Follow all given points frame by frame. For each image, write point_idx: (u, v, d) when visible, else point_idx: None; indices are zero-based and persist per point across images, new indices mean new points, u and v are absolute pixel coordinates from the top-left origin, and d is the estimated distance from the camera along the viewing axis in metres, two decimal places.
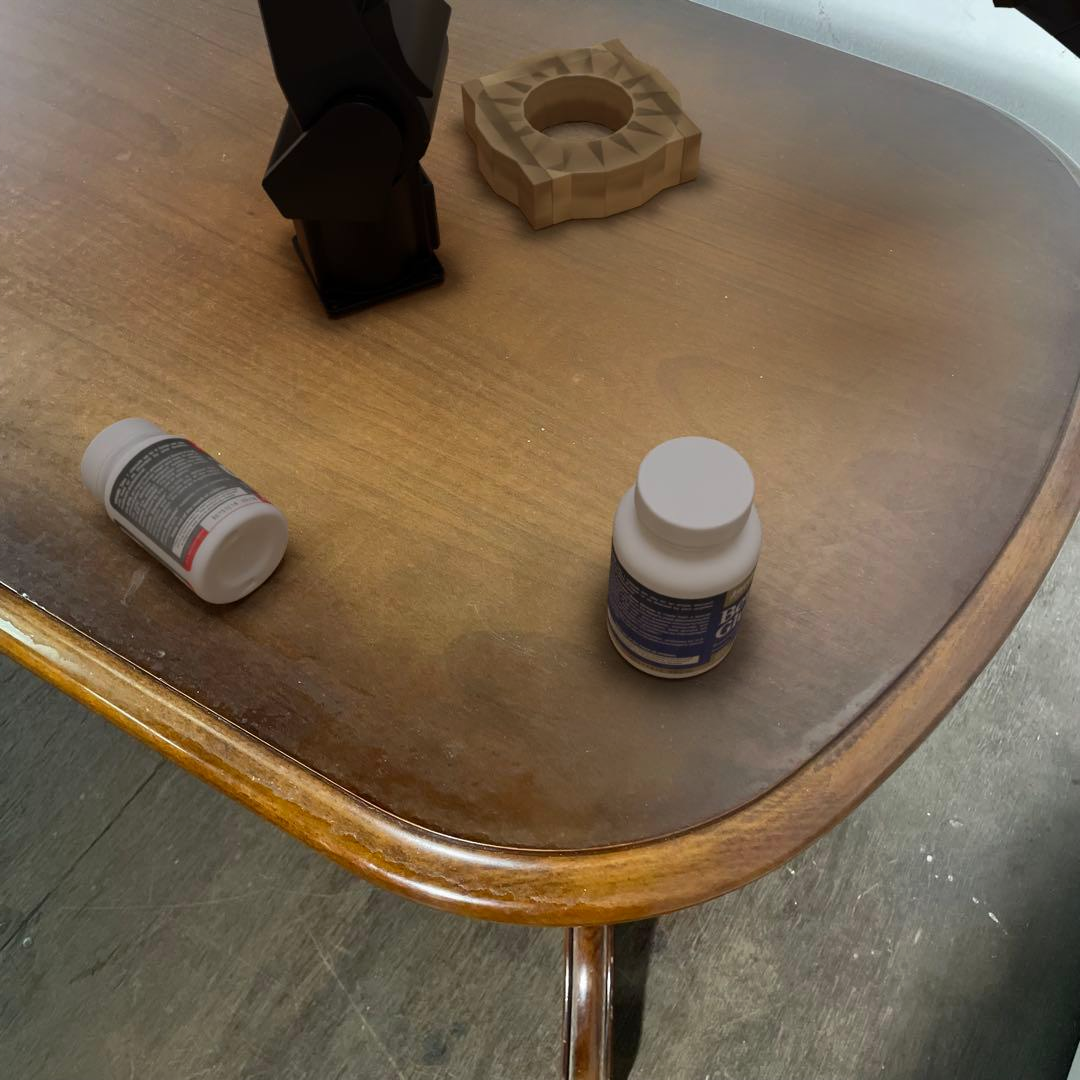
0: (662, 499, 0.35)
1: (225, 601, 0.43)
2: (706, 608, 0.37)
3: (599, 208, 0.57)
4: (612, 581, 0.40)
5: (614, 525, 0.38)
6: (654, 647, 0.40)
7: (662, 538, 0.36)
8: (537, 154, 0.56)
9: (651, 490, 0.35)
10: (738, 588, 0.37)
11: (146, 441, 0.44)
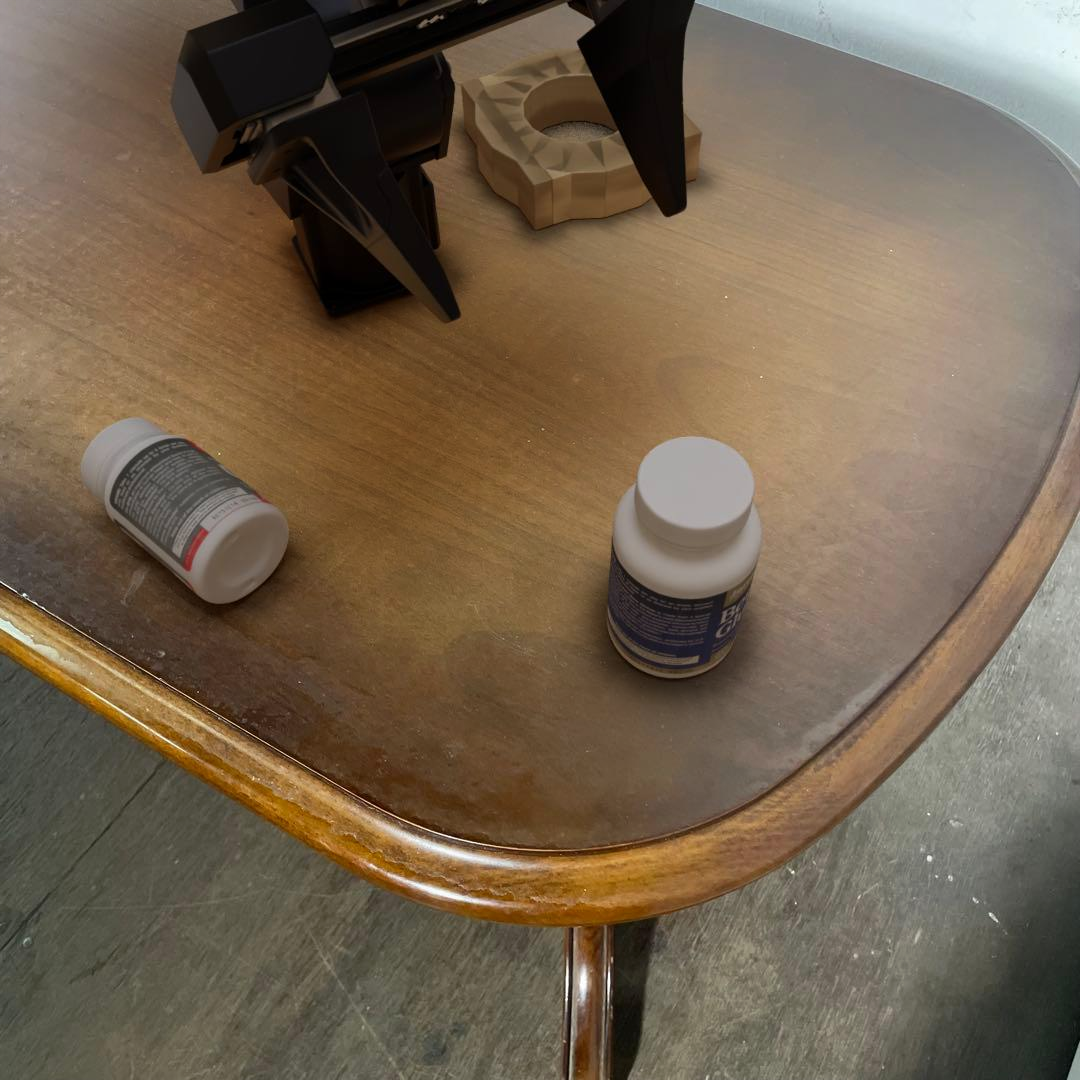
0: (662, 499, 0.35)
1: (225, 601, 0.43)
2: (706, 608, 0.37)
3: (599, 208, 0.57)
4: (612, 581, 0.40)
5: (614, 525, 0.38)
6: (654, 647, 0.40)
7: (662, 538, 0.36)
8: (537, 154, 0.56)
9: (651, 490, 0.35)
10: (738, 588, 0.37)
11: (146, 441, 0.44)
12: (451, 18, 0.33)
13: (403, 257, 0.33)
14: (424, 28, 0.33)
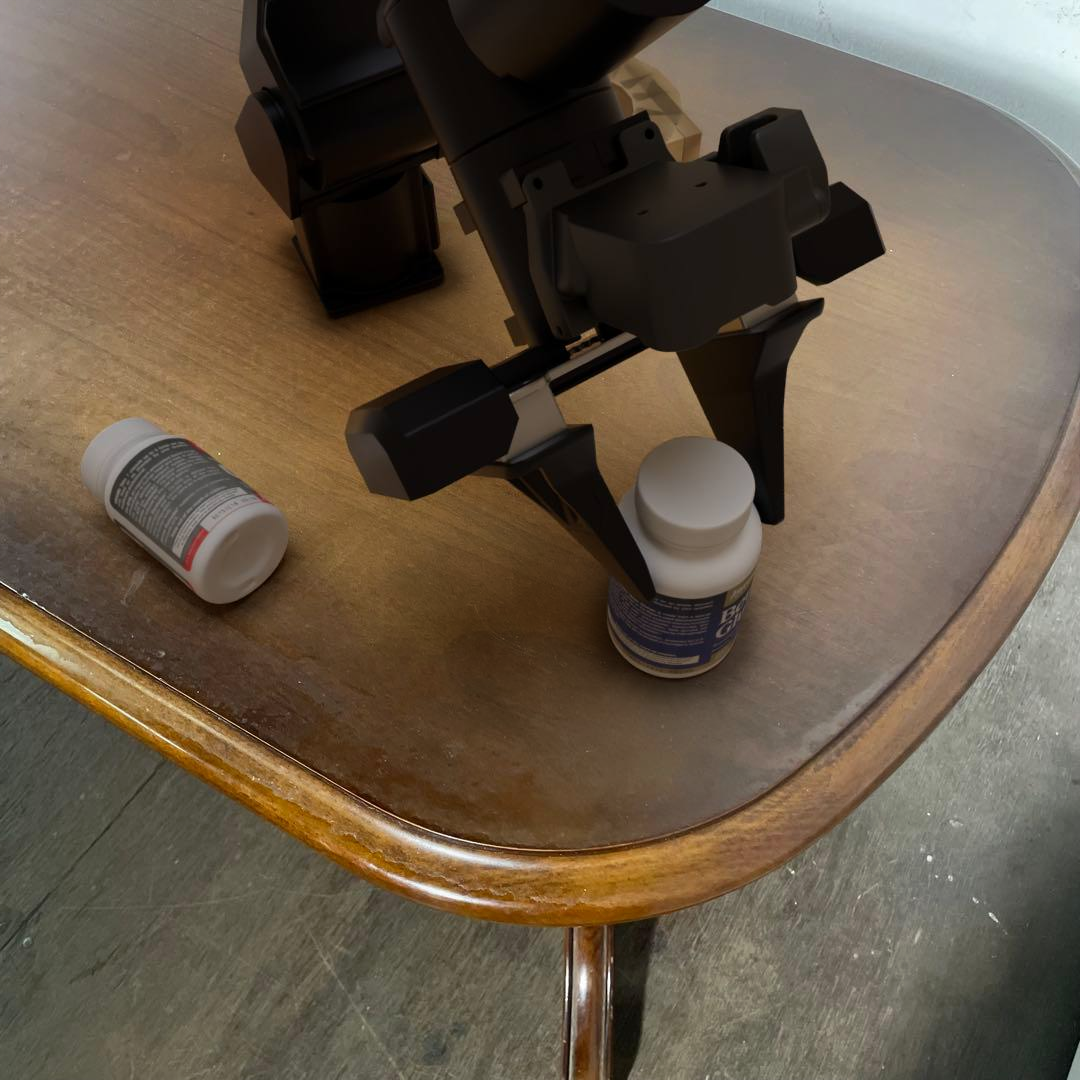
0: (663, 499, 0.35)
1: (225, 601, 0.43)
2: (706, 608, 0.37)
3: None
4: (612, 581, 0.40)
5: None
6: (654, 647, 0.40)
7: (662, 537, 0.36)
8: None
9: (651, 490, 0.35)
10: (738, 587, 0.37)
11: (146, 441, 0.44)
12: None
13: (609, 552, 0.35)
14: None
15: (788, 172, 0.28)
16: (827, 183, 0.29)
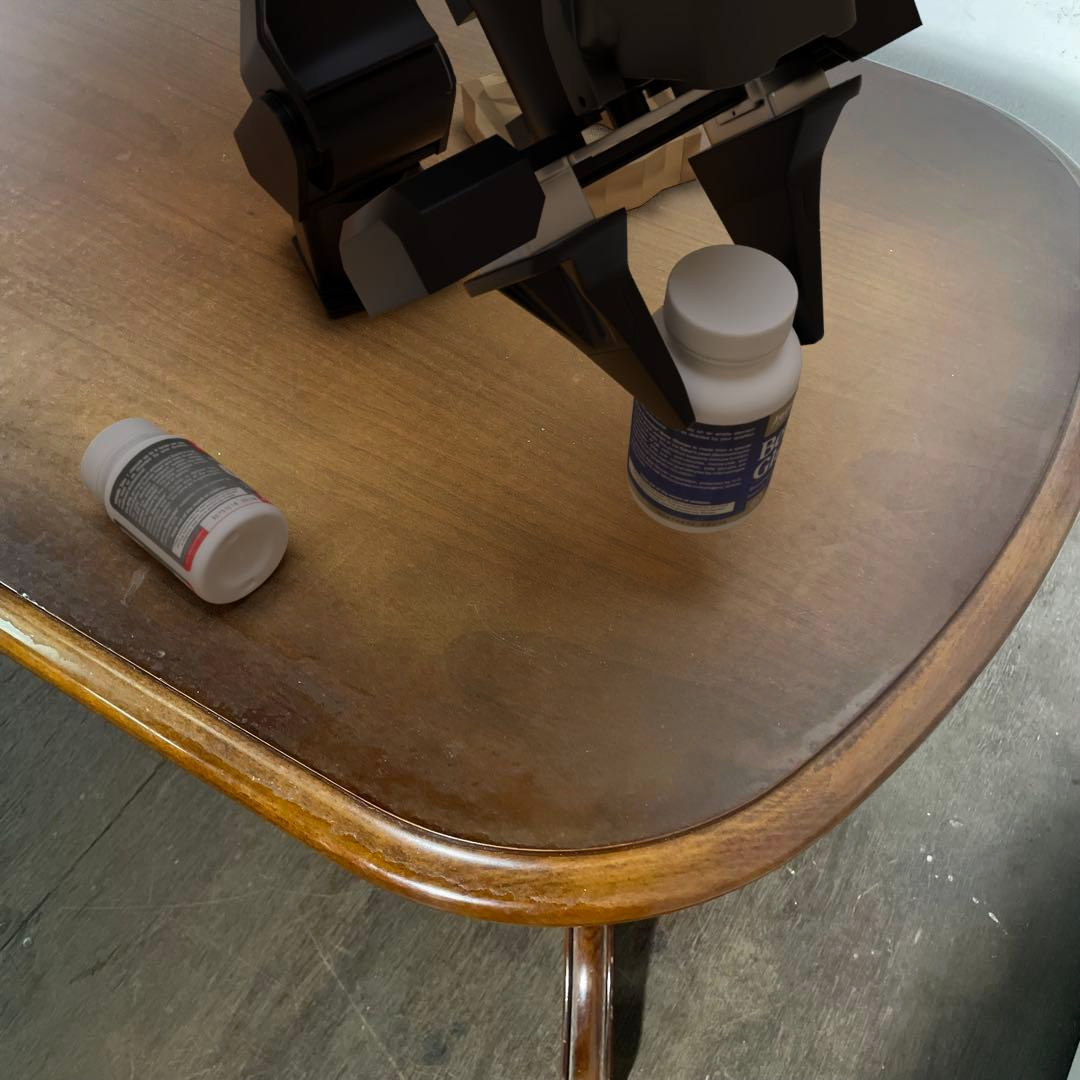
0: (699, 308, 0.31)
1: (225, 601, 0.43)
2: (747, 437, 0.34)
3: (599, 208, 0.57)
4: (637, 423, 0.36)
5: None
6: (686, 494, 0.36)
7: (699, 354, 0.32)
8: None
9: (684, 299, 0.32)
10: (780, 412, 0.34)
11: (146, 441, 0.44)
12: (585, 162, 0.30)
13: (643, 370, 0.31)
14: (605, 152, 0.31)
15: None
16: None
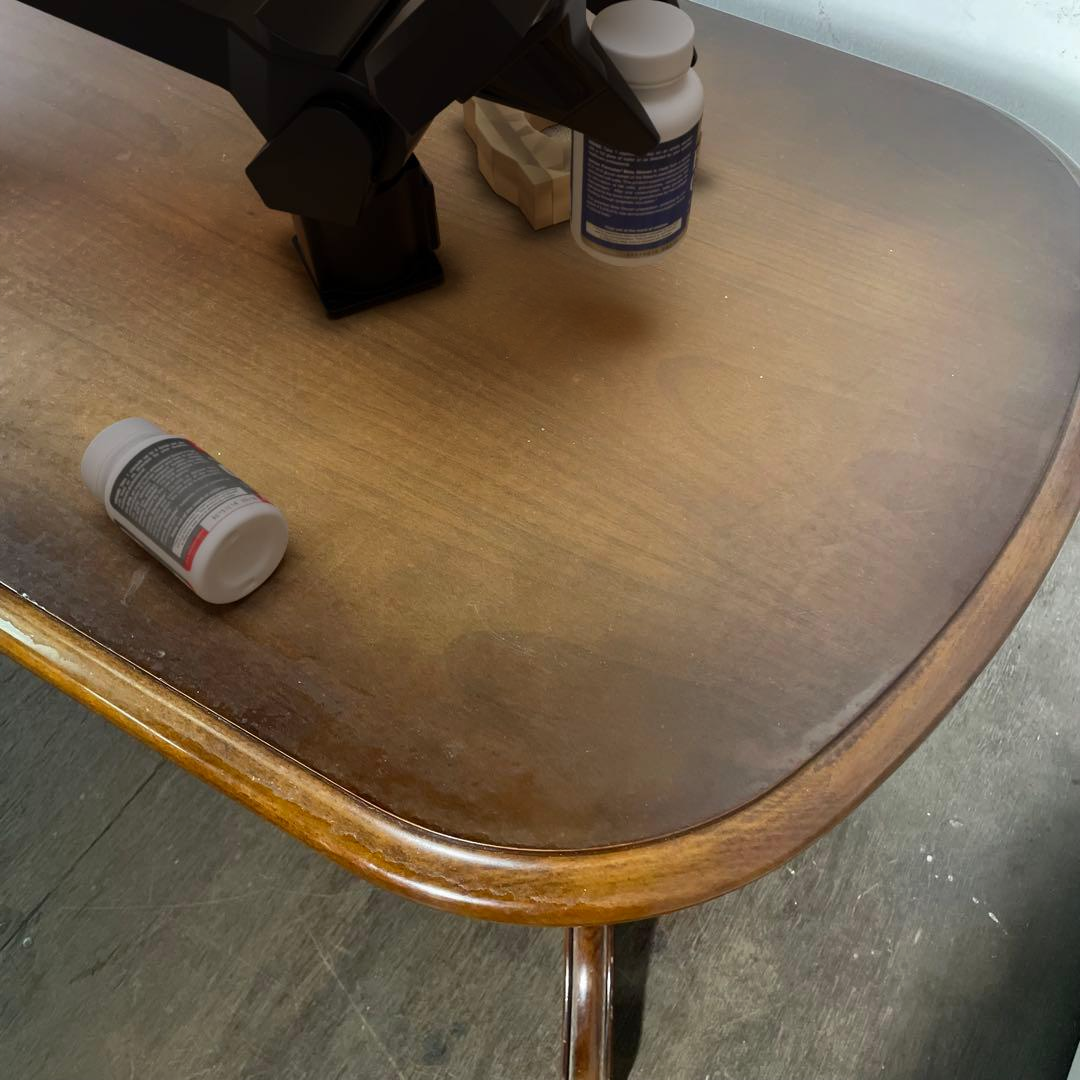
0: (633, 46, 0.40)
1: (225, 601, 0.43)
2: (688, 146, 0.43)
3: None
4: (595, 180, 0.44)
5: None
6: (650, 222, 0.45)
7: (644, 84, 0.40)
8: (537, 154, 0.56)
9: (619, 45, 0.40)
10: (701, 118, 0.43)
11: (146, 441, 0.44)
12: None
13: (620, 104, 0.39)
14: None
15: None
16: None
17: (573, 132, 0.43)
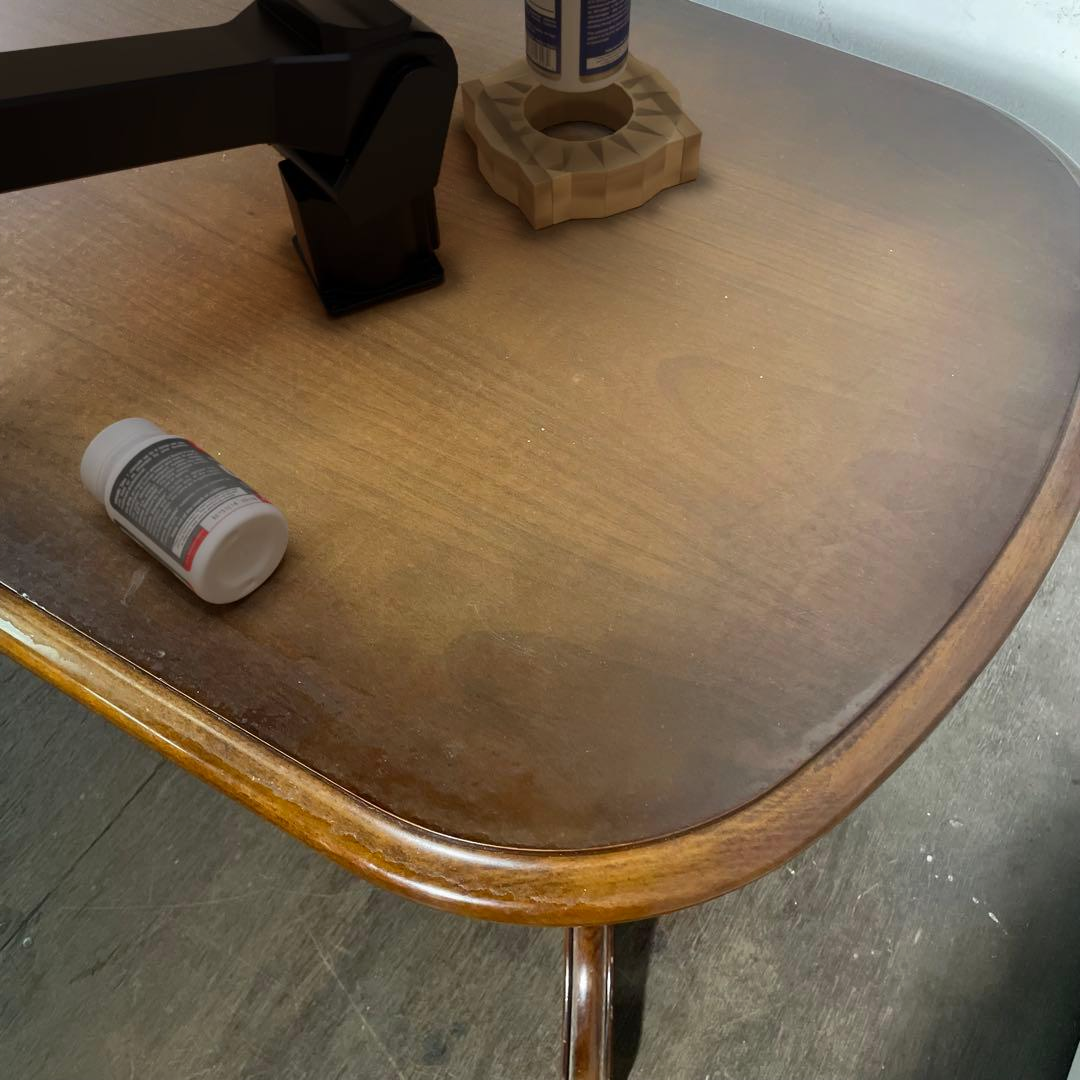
0: None
1: (225, 601, 0.43)
2: None
3: (599, 208, 0.57)
4: (596, 12, 0.51)
5: None
6: (628, 27, 0.54)
7: None
8: (537, 154, 0.56)
9: None
10: None
11: (146, 441, 0.44)
12: None
13: None
14: None
15: None
16: None
17: None
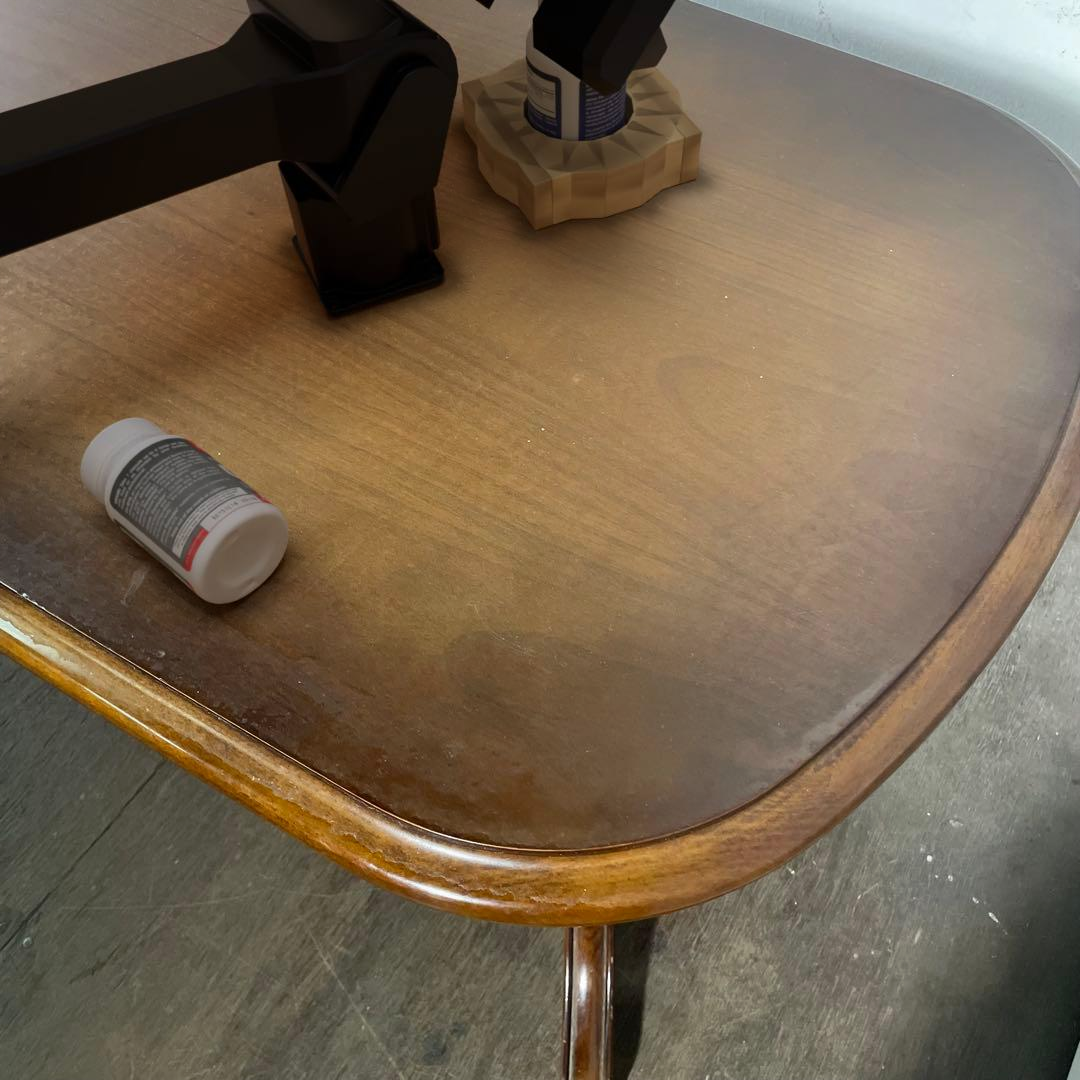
0: None
1: (225, 601, 0.43)
2: None
3: (599, 208, 0.57)
4: (593, 113, 0.56)
5: None
6: (623, 121, 0.58)
7: None
8: (537, 154, 0.56)
9: None
10: None
11: (146, 441, 0.44)
12: None
13: (658, 28, 0.50)
14: None
15: None
16: None
17: (561, 92, 0.55)
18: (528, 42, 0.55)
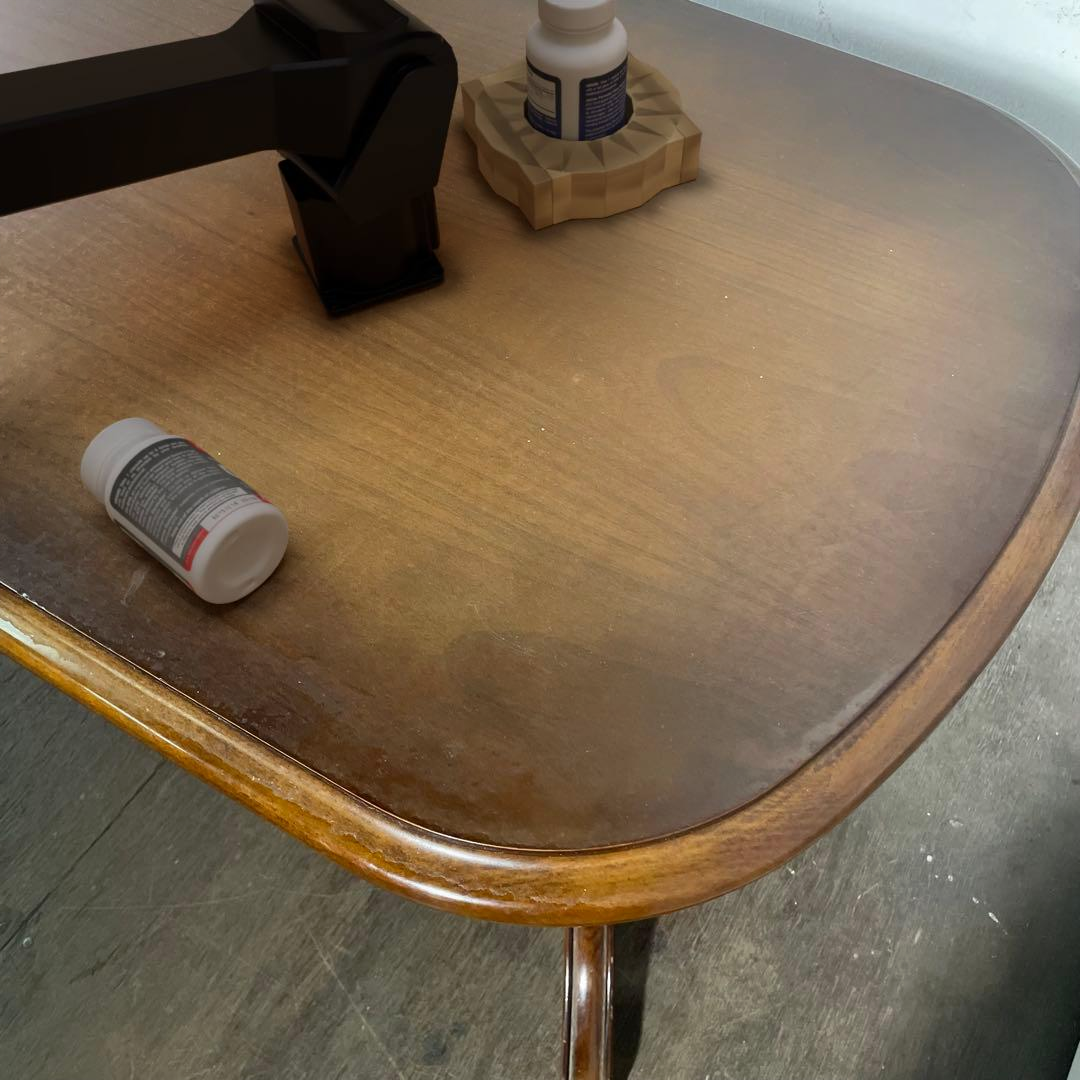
0: None
1: (225, 601, 0.43)
2: None
3: (599, 208, 0.57)
4: (593, 113, 0.56)
5: (580, 67, 0.54)
6: (623, 121, 0.58)
7: (609, 19, 0.53)
8: (537, 154, 0.56)
9: (589, 2, 0.52)
10: None
11: (146, 441, 0.44)
12: None
13: None
14: None
15: None
16: None
17: (561, 92, 0.55)
18: (528, 42, 0.55)
